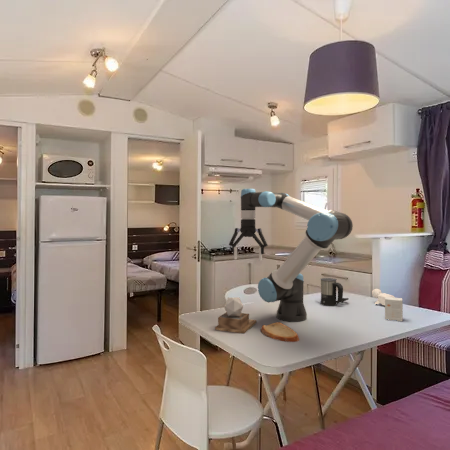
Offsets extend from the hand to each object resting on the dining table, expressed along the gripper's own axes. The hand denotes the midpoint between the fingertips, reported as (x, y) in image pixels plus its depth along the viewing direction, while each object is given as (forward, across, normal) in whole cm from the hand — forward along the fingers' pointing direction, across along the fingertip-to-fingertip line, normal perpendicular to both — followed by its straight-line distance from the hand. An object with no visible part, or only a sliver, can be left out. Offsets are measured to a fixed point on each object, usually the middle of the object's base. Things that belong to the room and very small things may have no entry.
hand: (247, 260), depth 193 cm
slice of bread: (+29, -23, +24) cm, 44 cm away
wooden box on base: (+29, -1, +20) cm, 35 cm away
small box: (+29, -70, -20) cm, 78 cm away
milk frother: (+29, -39, -43) cm, 65 cm away
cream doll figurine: (+29, -66, -50) cm, 88 cm away
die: (+23, -1, +24) cm, 33 cm away
